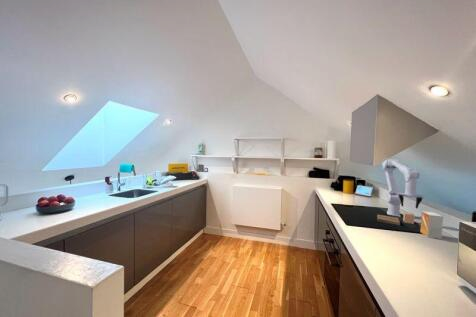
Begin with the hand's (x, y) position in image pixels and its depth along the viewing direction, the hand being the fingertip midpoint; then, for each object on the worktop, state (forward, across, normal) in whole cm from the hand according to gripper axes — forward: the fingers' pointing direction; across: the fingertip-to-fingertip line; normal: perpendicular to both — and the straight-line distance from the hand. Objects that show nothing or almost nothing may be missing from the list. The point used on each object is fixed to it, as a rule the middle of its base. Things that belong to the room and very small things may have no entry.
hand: (409, 207), depth 142 cm
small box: (+11, +7, -23) cm, 26 cm away
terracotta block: (+10, 0, 0) cm, 10 cm away
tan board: (+10, -12, -7) cm, 17 cm away
